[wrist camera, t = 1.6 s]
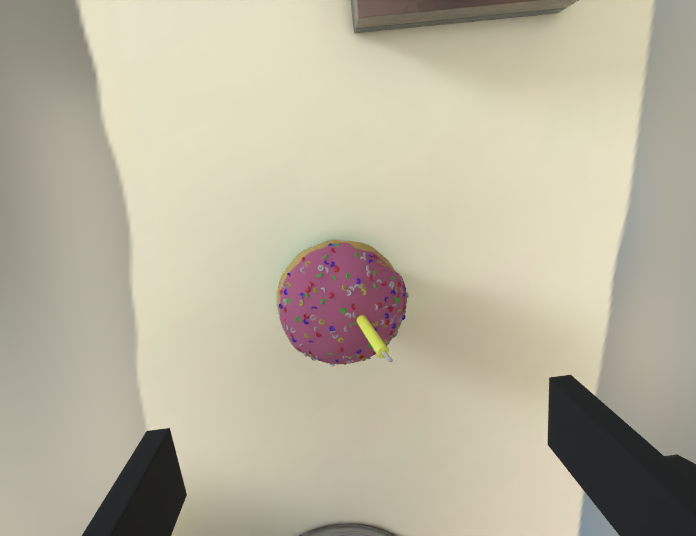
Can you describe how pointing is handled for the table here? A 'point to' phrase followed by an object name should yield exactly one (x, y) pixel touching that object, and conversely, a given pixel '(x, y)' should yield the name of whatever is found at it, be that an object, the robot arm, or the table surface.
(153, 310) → the table surface
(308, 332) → the cupcake
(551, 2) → the brown rectangular panel
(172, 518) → the robot arm
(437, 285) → the table surface
